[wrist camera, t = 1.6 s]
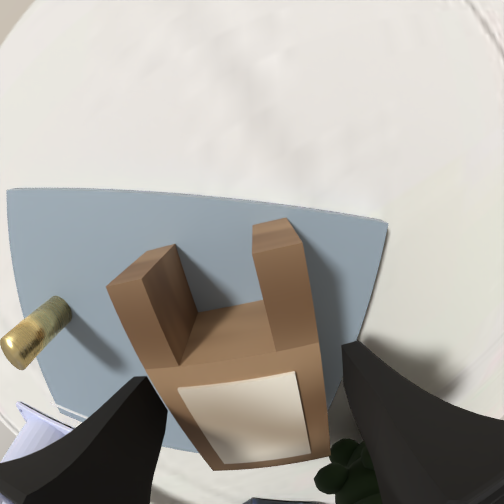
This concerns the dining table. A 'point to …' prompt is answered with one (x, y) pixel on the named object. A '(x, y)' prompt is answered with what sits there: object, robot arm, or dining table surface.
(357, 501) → the toy figurine
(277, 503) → the box
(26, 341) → the peg
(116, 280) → the wooden holder
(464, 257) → the dining table surface
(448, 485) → the robot arm
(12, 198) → the board
